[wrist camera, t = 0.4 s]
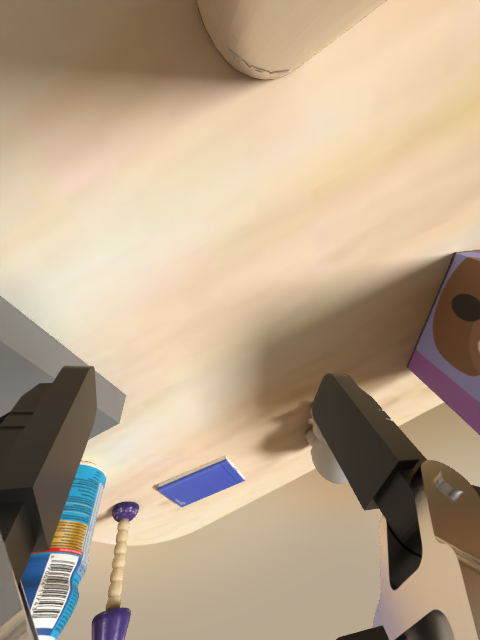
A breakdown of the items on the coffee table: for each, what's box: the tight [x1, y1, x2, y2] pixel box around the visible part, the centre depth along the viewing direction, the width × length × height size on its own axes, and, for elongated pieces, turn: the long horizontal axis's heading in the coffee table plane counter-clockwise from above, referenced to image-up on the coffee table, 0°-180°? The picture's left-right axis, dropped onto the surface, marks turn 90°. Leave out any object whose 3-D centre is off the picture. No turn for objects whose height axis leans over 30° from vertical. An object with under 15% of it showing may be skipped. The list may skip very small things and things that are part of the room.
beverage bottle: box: [21, 461, 106, 640], centre depth 30 cm, size 8×8×20 cm
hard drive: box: [158, 456, 245, 507], centre depth 45 cm, size 2×8×12 cm
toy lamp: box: [92, 502, 139, 640], centre depth 38 cm, size 5×5×17 cm
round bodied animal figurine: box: [306, 408, 349, 484], centre depth 39 cm, size 7×12×8 cm, turn 15°
